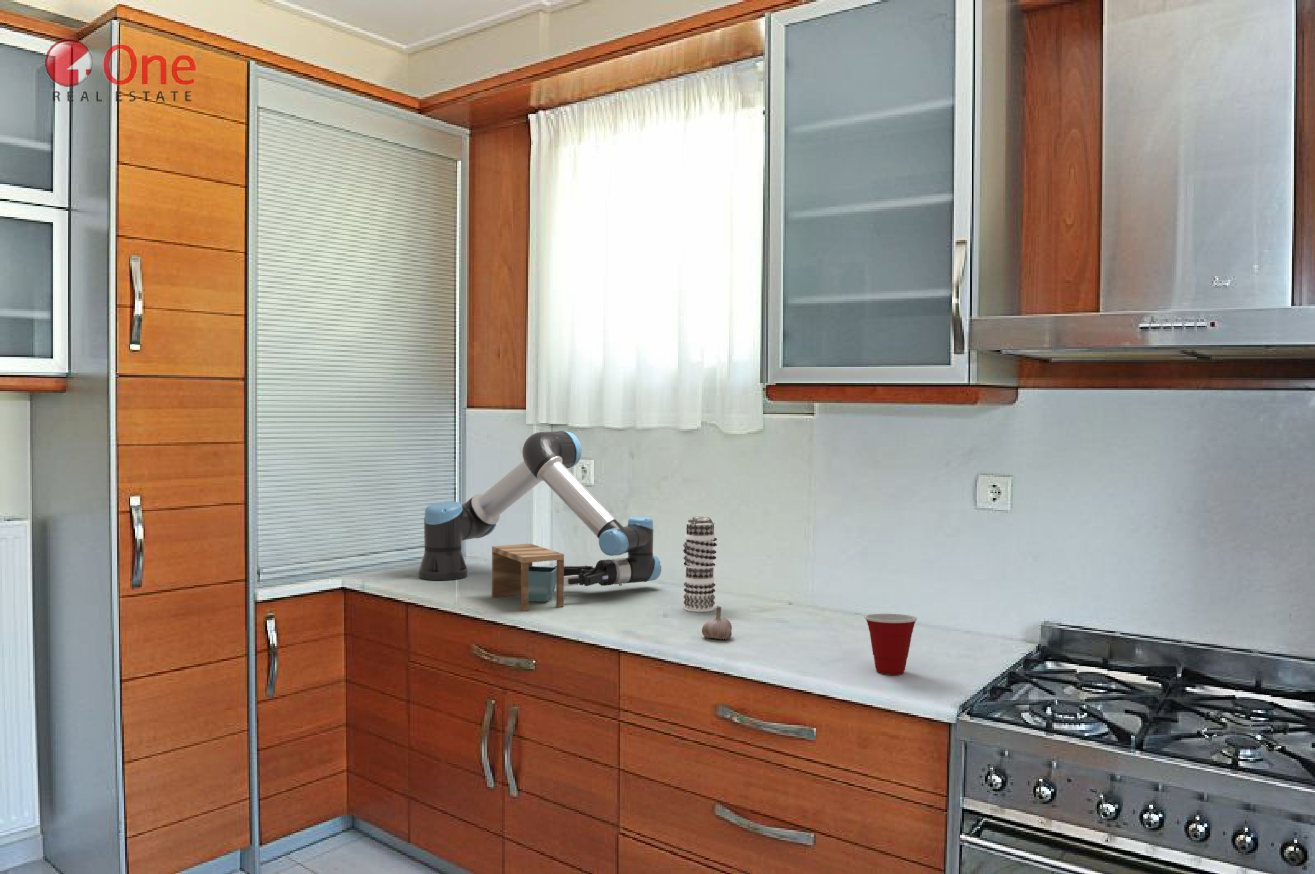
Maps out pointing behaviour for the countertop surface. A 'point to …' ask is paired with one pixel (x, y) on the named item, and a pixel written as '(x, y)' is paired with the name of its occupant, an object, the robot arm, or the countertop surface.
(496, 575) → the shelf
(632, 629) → the countertop surface
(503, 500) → the robot arm
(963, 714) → the countertop surface
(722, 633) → the garlic bulb
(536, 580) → the flower pot
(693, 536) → the decorative candle
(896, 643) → the plastic cup
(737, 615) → the countertop surface
